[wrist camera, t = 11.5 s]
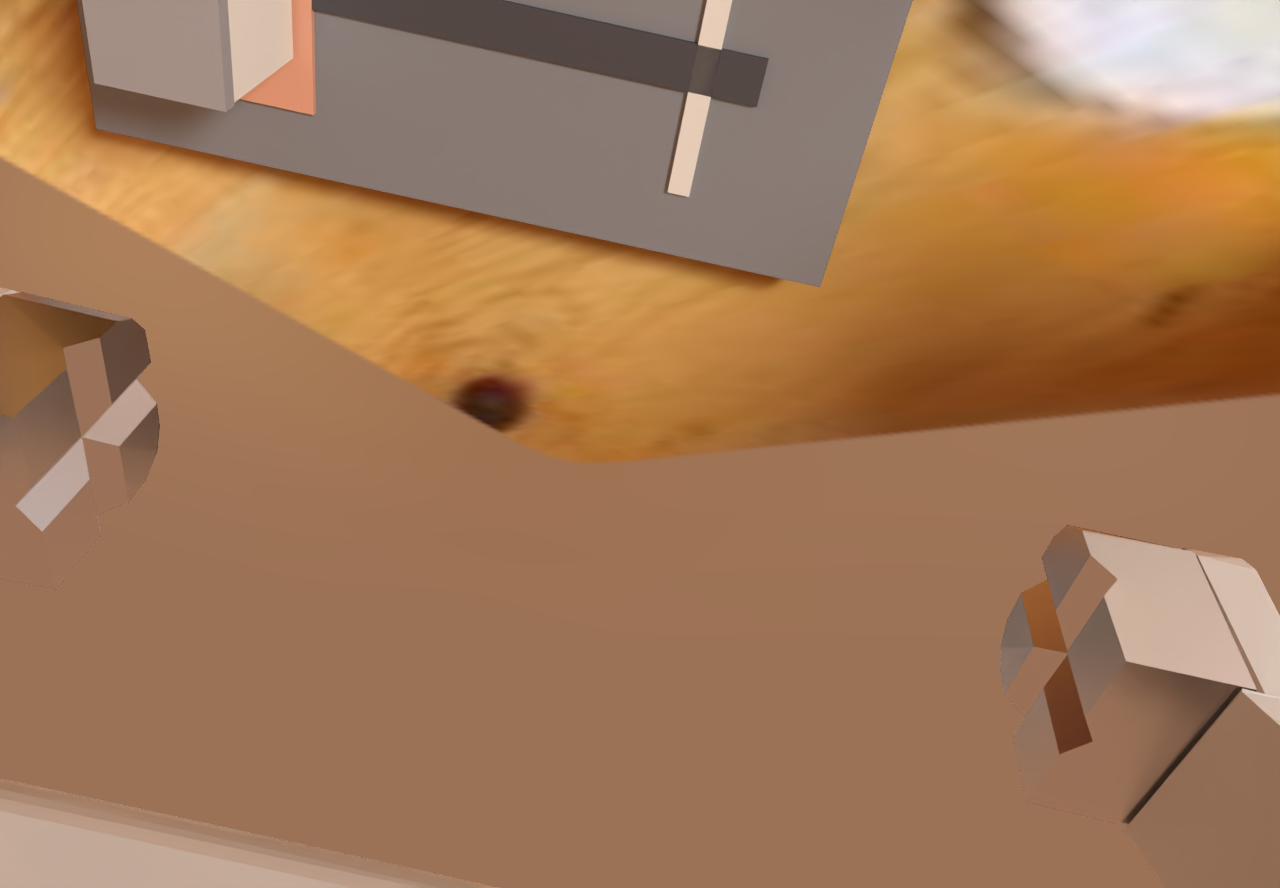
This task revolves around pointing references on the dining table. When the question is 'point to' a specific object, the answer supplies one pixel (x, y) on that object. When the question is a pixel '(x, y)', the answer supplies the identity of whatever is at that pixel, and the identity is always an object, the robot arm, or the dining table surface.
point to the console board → (572, 115)
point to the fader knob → (188, 46)
